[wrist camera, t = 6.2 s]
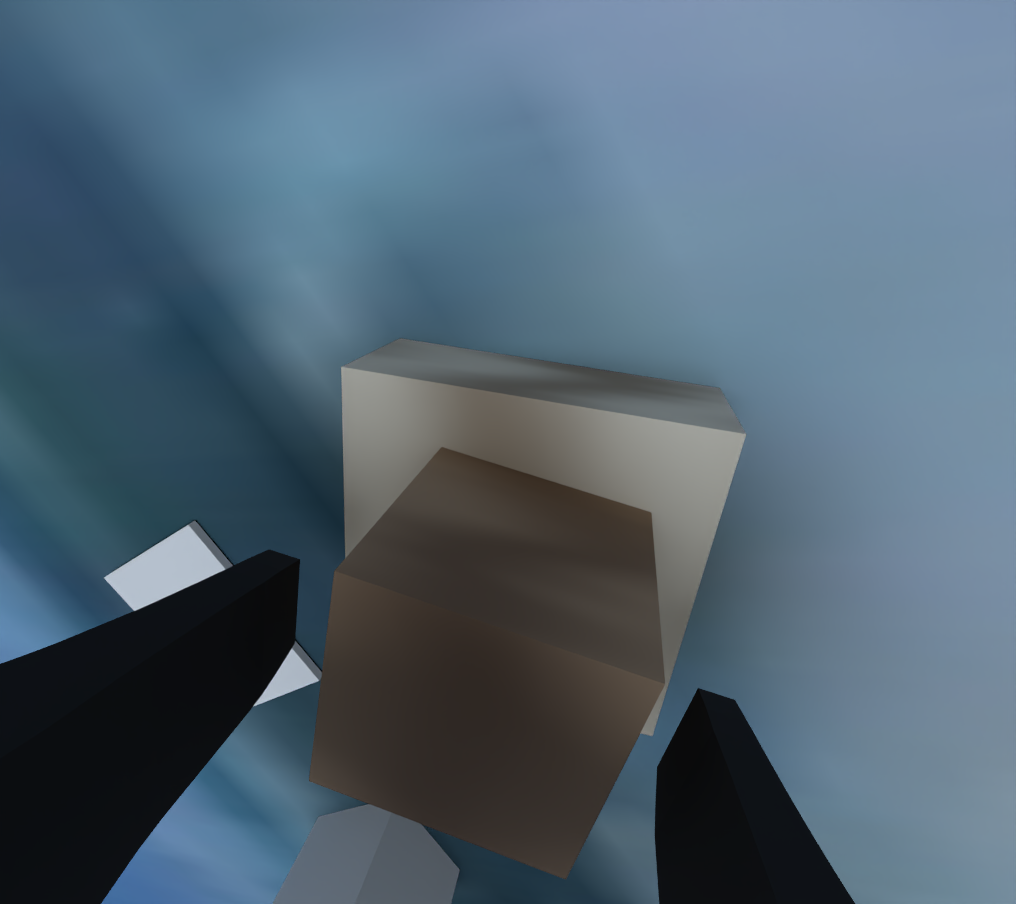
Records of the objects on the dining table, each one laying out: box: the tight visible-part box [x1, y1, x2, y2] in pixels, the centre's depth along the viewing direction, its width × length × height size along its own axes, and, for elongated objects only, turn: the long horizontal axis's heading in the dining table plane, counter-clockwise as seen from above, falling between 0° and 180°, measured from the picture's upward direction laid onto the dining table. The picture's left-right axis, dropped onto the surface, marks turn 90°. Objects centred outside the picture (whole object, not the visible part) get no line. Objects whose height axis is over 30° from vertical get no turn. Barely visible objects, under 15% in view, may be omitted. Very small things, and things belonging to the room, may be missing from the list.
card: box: [104, 521, 322, 706], centre depth 19 cm, size 7×5×1 cm
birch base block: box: [341, 338, 746, 736], centre depth 14 cm, size 8×8×4 cm
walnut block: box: [309, 447, 665, 879], centre depth 10 cm, size 4×4×4 cm
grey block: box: [273, 804, 460, 904], centre depth 20 cm, size 4×4×4 cm
